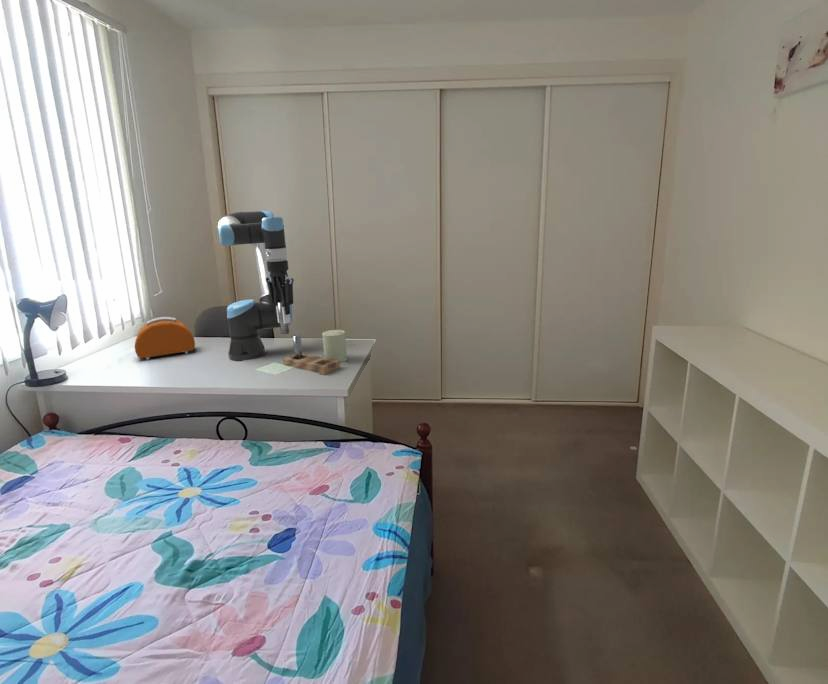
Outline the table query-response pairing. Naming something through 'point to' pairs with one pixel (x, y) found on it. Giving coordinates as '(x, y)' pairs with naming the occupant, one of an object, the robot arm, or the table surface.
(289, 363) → the socket block
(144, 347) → the alarm clock
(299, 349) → the pin
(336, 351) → the can
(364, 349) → the table surface
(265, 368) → the mat
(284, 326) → the pin
